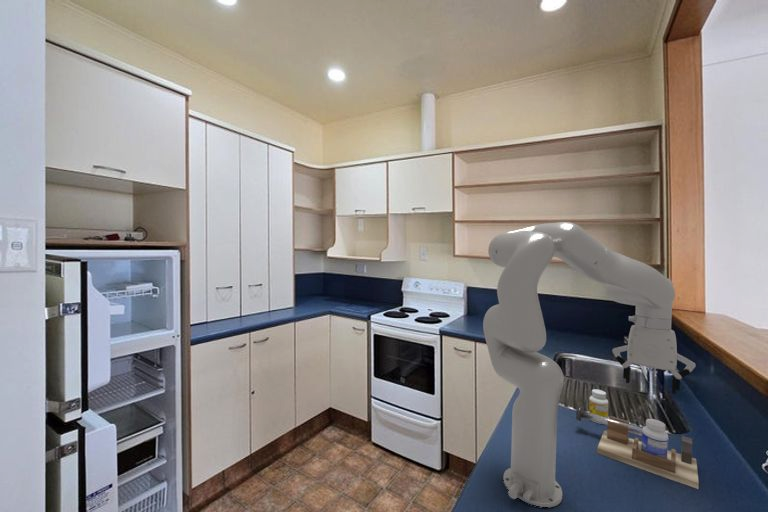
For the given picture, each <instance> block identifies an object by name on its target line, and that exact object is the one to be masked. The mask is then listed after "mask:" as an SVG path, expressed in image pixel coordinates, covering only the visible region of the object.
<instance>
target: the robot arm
mask: <svg viewBox="0 0 768 512" xmlns="http://www.w3.org/2000/svg"><path fill="white" fill-rule="evenodd" d="M487 251H488V256H489V258H490V260H491V261H492V262H493V263H494V264H495V265H496V266H499V267H503V268H504V269H503V271H502V272H501V273H500V276H499V279H498V282H497V287H496V294H497V300H498V303H497V304H495V305H493V306H491V307H489V308H488V310H487V311H486V313H485V314H484V317H483V322H482V323H483V324H482V327H483V328H482V329H483V335H484V338H485V342H486V346H487V350H488V354H489V357H490V362H491V364H492V365H491V366H492V367H493V370H494V372H495V373H496V374H497V375H498V376H499V377H500V378H501V379H503V380H504V381H506V382H508V383H509V384H511V385H513V386H514V387H516V388H517V389H519V394H518V396H517V397H516V399H515V401H514V403H513V406H512V412H511V413H512V415H511V422H512V423H511V449H510V450H511V452H510V467H509V468H507V469H506V470H504V473H503V478H502V479H503V480H504V481H503V480H502V481H503V485H504V484H505V485H504V487H505V486H506V487H507V488H506V487H505V488H506V490H507V489H508V490H509V491H508V490H507V494H508V496H509V497H510V498H511V499H513V500H516V499H517V497H518V498H520V499H522V500H524V501H526V502H528V503H531V504H534V505H536V506H540V507H539V508H542V507H548V508H552V507H553V508H554V507H556V506H559V504H560V503H561V502H562V501H563V489H562V486H561V485H560V484H559V482H558V481H557V480H556V464H557V463H556V462H557V438H558V437H557V434H558V433H557V432H558V431H557V428H558V427H557V426H558V410H559V402H560V398H561V394H562V391H563V387H564V378H565V376H564V373H563V371H562V369H561V367H560V366H559V364H558V363H557V362H556V361H554V359H552V358H550V357H549V356H546V355H544V354H542V353H539V352H540V351H541V350H542V349H543V348H544V347H545V345H546V342H547V332H546V331H547V330H546V325H545V322H544V321H545V320H544V316H543V311H542V309H541V305H540V300H539V295H538V286H539V282H540V279H541V276H542V274H543V273H544V271H545V270H546V269H547V267H548V266H549V264H550V263H551V261H552V260H553V257H554V258H557V259H560V260H561V261H562V262H564V263H565V264H567V265H568V266H570V267H571V268H573V269H574V270H575V271H577V273H579V274H581V275H582V276H584V277H585V278H587V279H589V280H592V281H595V282H598V283H601V284H605V292H606V295H607V296H608V298H609V299H610V300H612V301H613V302H616V303H619V304H624V305H629V306H635V315H632V316H631V315H628V321H629V322H633V324H632V325H631V327H630V330H629V334H628V339H627V341H628V342H627V344H626V345H622V346H618V347H613V348H612V350H611V351H612V354H613V355H614V357H615V360H616V361H617V362H618V363H619V364H620V365H621V367H622V368H623V376H622V378H623V379H625V383H626V384H630V382H631V375H632V374H631V371H632V368H631V365H633V364H634V365H636V366H641V367H648V368H653V369H656V370H658V369H659V370H662V371H667V372H670V373H671V374H672V386H671V387H672V388H671V393H672V394H673V395H676V393H677V391H679V392H680V390H681V388H680V387H681V385H680V384H681V379H683V378H684V377H685V378H686V376H689V375H690V374H691V372H693V370H694V369H695V368H696V363H695V362H693V361H692V360H690V359H689V358H687V357H685V356H683V355H681V354H679V353H678V350H677V348H678V347H677V338H676V337H677V336H676V333H675V330H673V329H672V320H673V319H672V317H673V315H672V314H673V313H672V312H673V303H674V301H675V297H676V291H675V288H674V283H673V280H671V279H670V278H667V277H666V276H665V275H663V274H662V273H661V272H660V271H659V270H657V269H655V268H654V267H653V266H652V265H651V266H650V265H649V264H646V263H644V262H642V261H639V260H637V259H634V258H631V257H628V256H627V255H624V254H622V253H619V252H616V251H613V250H611V249H610V248H608V247H607V246H606V245H605V244H603V243H602V242H600V241H599V240H598V239H596V238H595V237H594V236H593V235H592V234H590V233H589V232H588V231H586V230H585V229H584V228H583V227H581V226H580V225H579V224H576V223H575V222H570V221H559V222H549V223H548V222H547V223H539V224H535V225H532V226H527V227H524V228H520V229H519V228H518V229H516V230H511V231H506V232H502V233H500V234H498V235H495V236H494V237H493V238H492V240H491V241H490V243H489V245H488V249H487ZM538 351H539V352H538ZM623 352H626V353H627V355H626V358H627V359H626V360H625V358H624V357H622V356H621V353H623ZM678 361H679V362H681V363H682V364H685V365H686V366H685V367H684V368H683V369H681V370H679V369H678V368H677V364H678ZM536 506H535V507H536Z"/></svg>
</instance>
